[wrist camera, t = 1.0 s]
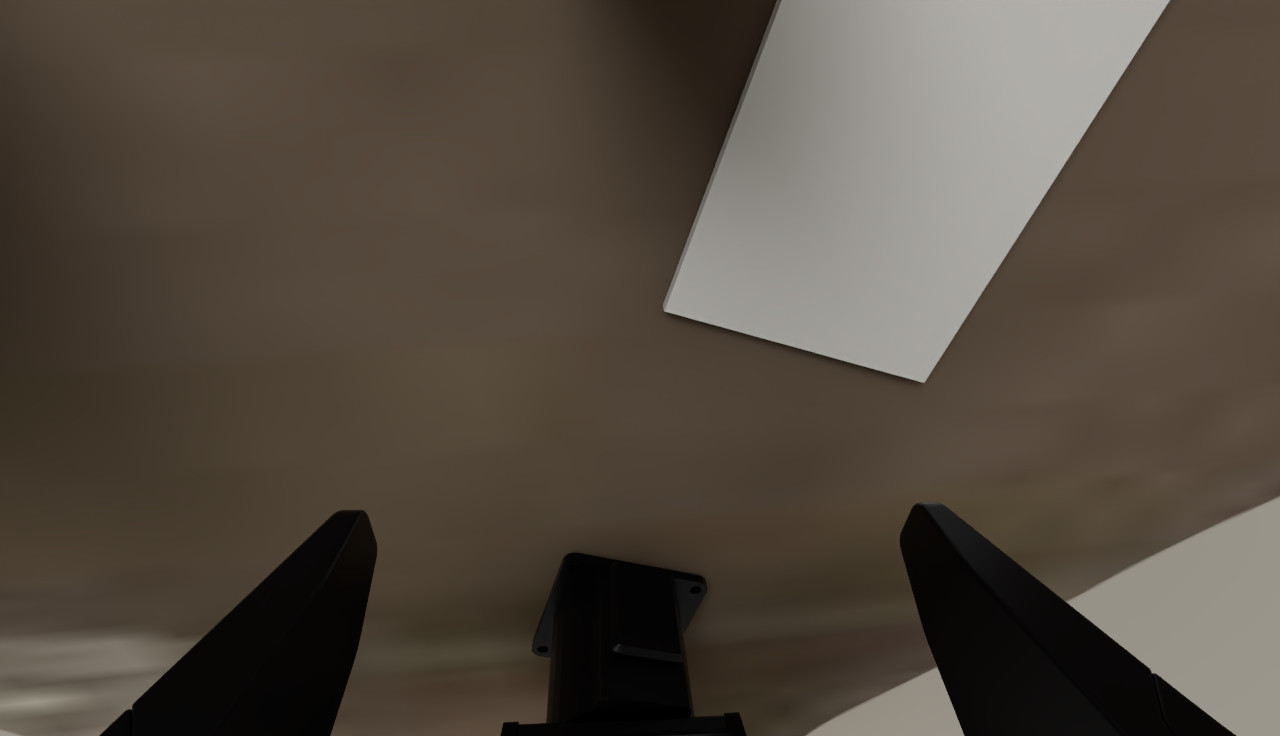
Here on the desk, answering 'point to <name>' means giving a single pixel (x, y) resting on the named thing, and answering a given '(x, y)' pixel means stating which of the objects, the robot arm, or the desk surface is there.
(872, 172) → the grey board
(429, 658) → the desk surface
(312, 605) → the robot arm
